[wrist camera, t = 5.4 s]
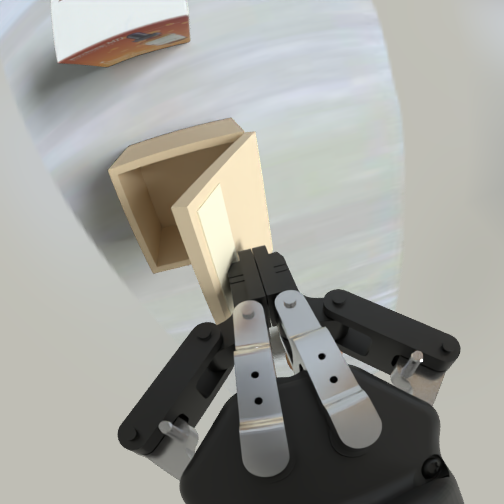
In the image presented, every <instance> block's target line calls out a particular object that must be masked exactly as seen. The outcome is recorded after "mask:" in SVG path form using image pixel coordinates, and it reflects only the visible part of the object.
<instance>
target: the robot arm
mask: <svg viewBox="0 0 504 504" xmlns="http://www.w3.org/2000/svg"><path fill="white" fill-rule="evenodd" d="M252 253H253V254H252ZM238 255H239V259H240V261H238V262H233V263H231V266H230V268H229V270H228V277H229V282H230V288H231V293H232V299H233V304H234V310H233V313H232V315H231V316H230V317H229V318H228V319H227V320H225V321H224V322H222V323H220V324H218V325H216V324H214V323H211V322H205V323H201V324H199V325H197V326H196V327H195V328H194V329H193V330H192V331H191V333H190V334H189V335H188V337H187V338H186V339H185V341H184V342H183V343H182V345H181V346H180V347H179V349H178V350H177V351H176V353H175V354H174V355H173V356H172V358H171V359H170V361H169V362H168V363H167V364H166V366H165V367H164V368H163V370H162V371H161V372H160V374H159V375H158V376H157V378H156V379H155V380H154V382H153V383H152V384H151V386H150V387H149V388H148V390H147V391H146V392H145V394H144V395H143V396H142V398H141V399H140V400H139V402H138V403H137V404H136V406H135V407H134V408H133V409H132V411H131V412H130V413H129V415H128V416H127V417H126V419H125V420H124V421H123V423H122V424H121V425H120V427H119V430H118V440H119V441H120V444H121V445H122V446H123V447H124V448H126V449H128V450H130V451H133V452H135V453H136V454H138V455H141V456H143V457H146V458H148V459H149V460H151V461H152V462H153V463H155V464H156V465H157V466H159V467H160V468H162V469H163V470H164V471H166V472H167V473H169V474H170V475H172V476H173V477H175V478H176V479H178V480H180V493H181V496H182V498H183V500H184V502H185V503H186V504H464V502H463V498H462V496H461V493H460V490H459V487H458V484H457V482H456V479H455V477H454V476H453V474H452V473H451V471H450V470H449V468H448V467H447V466H446V464H445V462H444V461H443V459H442V457H441V454H440V448H439V435H440V420H439V416H438V414H437V412H436V410H435V409H434V408H433V407H432V406H433V404H434V401H435V399H436V396H437V394H438V391H439V389H440V386H441V383H442V381H443V378H444V375H445V372H446V371H447V370H448V369H449V368H450V366H451V365H452V364H453V363H454V362H455V360H456V359H457V358H458V356H459V354H460V345H459V342H458V341H457V339H456V338H454V337H453V336H451V335H449V334H447V333H444V332H442V331H440V330H437V329H435V328H432V327H430V326H428V325H425V324H423V323H421V322H418V321H416V320H414V319H411V318H409V317H406V316H404V315H402V314H399V313H397V312H395V311H392V310H390V309H388V308H385V307H383V306H380V305H378V304H376V303H373V302H371V301H369V300H366V299H364V298H361V297H359V296H357V295H354V294H352V293H350V292H347V291H345V290H340V289H336V290H332V291H330V292H328V293H327V294H326V295H325V297H324V298H310V297H306V296H304V295H303V294H302V293H300V292H299V290H298V289H297V286H296V284H295V282H294V280H293V277H292V275H291V273H290V271H289V268H288V266H287V264H286V262H285V259H284V257H283V256H282V255H280V254H279V253H278V252H274V253H270V254H268V251H267V248H266V246H265V245H263V246H258V247H254V248H252V250H251V248H250V249H246V250H242V251H238ZM270 320H271V322H270ZM271 323H272V326H273V327H274V326H277V327H278V330H279V335H280V340H281V342H282V344H283V347H284V349H285V351H286V354H287V356H288V359H289V361H290V363H291V366H292V368H293V371H294V375H293V376H291V377H280V378H277V376H276V371H275V365H274V360H273V355H272V349H271V344H270V332H269V328H270V327H271ZM340 351H341V352H343V353H345V354H347V355H349V356H352V357H354V358H356V359H358V360H360V361H362V362H364V363H366V364H368V365H370V366H372V367H374V368H376V369H378V370H381V371H383V372H385V373H387V374H389V375H391V381H392V383H393V385H394V386H393V385H391V384H389V383H387V382H386V381H384V380H382V379H380V378H378V377H376V376H374V375H372V374H370V373H368V372H366V371H365V370H363V369H361V368H359V367H356V366H353V365H349V364H347V362H346V361H345V359H344V357H343V355H342V354H341V352H340ZM234 365H235V376H236V387H237V393H236V394H234V395H233V396H232V397H231V398H230V399H229V400H228V401H227V402H226V403H225V405H224V406H223V408H222V410H221V411H220V413H219V415H218V416H217V418H216V420H215V421H214V423H213V425H212V427H211V428H210V430H209V431H208V433H207V435H206V436H205V438H204V440H203V441H202V443H201V445H200V446H199V448H198V449H197V451H196V453H195V447H196V445H197V443H198V433H197V431H196V430H195V426H196V424H197V423H198V422H199V420H200V419H201V417H202V416H203V414H204V413H205V411H206V409H207V408H208V407H209V405H210V403H211V402H212V400H213V399H214V397H215V396H216V394H217V393H218V391H219V390H220V388H221V386H222V385H223V383H224V382H225V380H226V379H227V377H228V375H229V374H230V372H231V371H232V369H233V367H234Z"/></svg>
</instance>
